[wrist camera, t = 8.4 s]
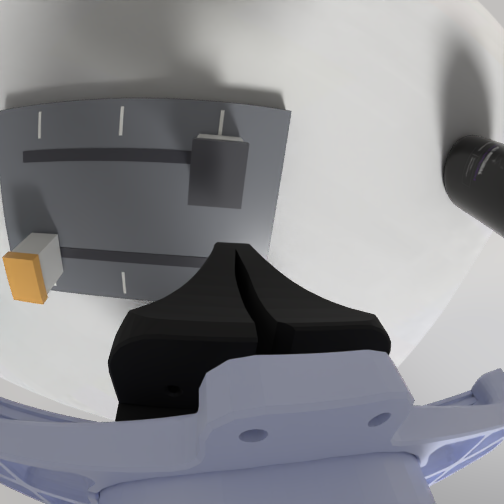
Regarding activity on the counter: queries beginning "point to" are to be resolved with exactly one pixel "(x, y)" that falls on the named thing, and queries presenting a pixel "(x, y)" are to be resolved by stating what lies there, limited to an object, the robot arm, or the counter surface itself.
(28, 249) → the fader orange
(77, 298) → the counter surface
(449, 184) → the supplement bottle
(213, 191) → the fader black
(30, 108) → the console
